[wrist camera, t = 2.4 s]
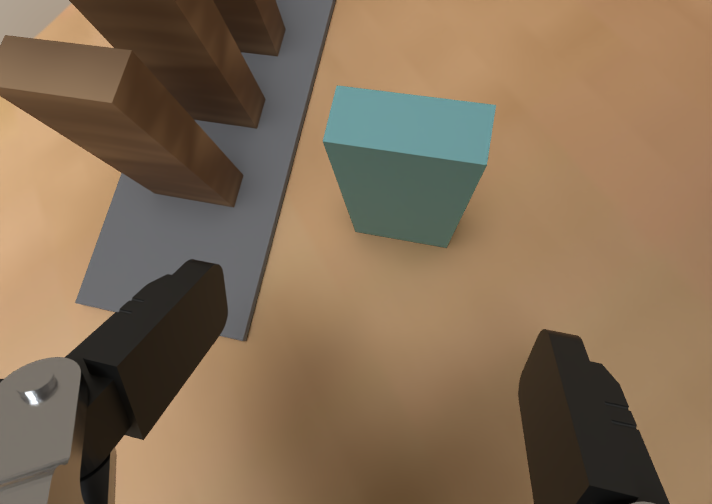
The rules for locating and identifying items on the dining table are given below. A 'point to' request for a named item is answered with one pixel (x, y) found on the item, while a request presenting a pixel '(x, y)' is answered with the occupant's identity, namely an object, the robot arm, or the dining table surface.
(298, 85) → the domino mat
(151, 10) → the domino
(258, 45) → the domino
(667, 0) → the dining table surface
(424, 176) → the domino
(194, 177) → the domino
